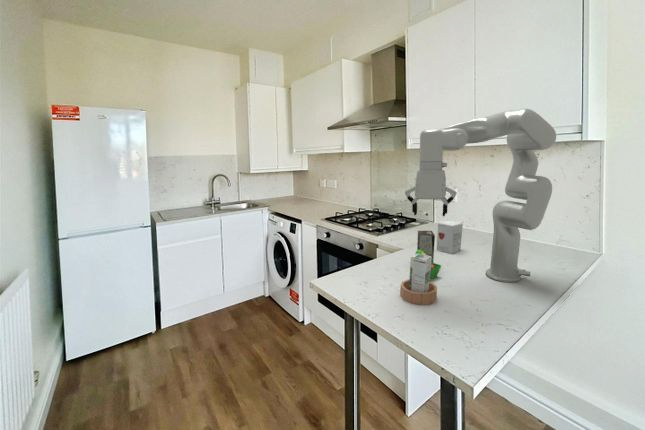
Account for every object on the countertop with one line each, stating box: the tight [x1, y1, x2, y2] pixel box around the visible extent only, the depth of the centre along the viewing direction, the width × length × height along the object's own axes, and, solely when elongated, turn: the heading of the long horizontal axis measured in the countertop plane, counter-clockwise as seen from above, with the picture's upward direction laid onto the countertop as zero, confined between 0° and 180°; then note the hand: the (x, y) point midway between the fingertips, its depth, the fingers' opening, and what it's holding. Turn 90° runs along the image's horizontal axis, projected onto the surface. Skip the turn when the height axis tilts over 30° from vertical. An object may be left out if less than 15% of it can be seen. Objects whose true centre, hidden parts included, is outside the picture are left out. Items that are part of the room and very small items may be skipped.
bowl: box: [399, 279, 438, 306], centre depth 115 cm, size 12×12×4 cm
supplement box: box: [436, 219, 463, 255], centre depth 165 cm, size 9×9×15 cm
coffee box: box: [416, 230, 436, 263], centre depth 142 cm, size 9×6×16 cm
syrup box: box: [408, 254, 432, 293], centre depth 114 cm, size 6×6×14 cm
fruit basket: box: [414, 249, 442, 280], centre depth 131 cm, size 11×9×11 cm
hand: (429, 214), depth 113 cm, fingers open, 9 cm apart
